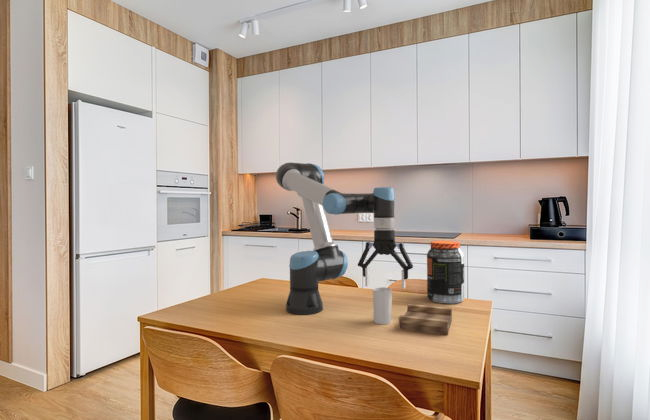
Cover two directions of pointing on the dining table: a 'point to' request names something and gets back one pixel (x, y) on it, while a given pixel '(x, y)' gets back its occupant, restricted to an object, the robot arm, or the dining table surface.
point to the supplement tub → (445, 272)
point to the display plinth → (426, 328)
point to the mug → (382, 305)
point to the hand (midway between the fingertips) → (385, 286)
